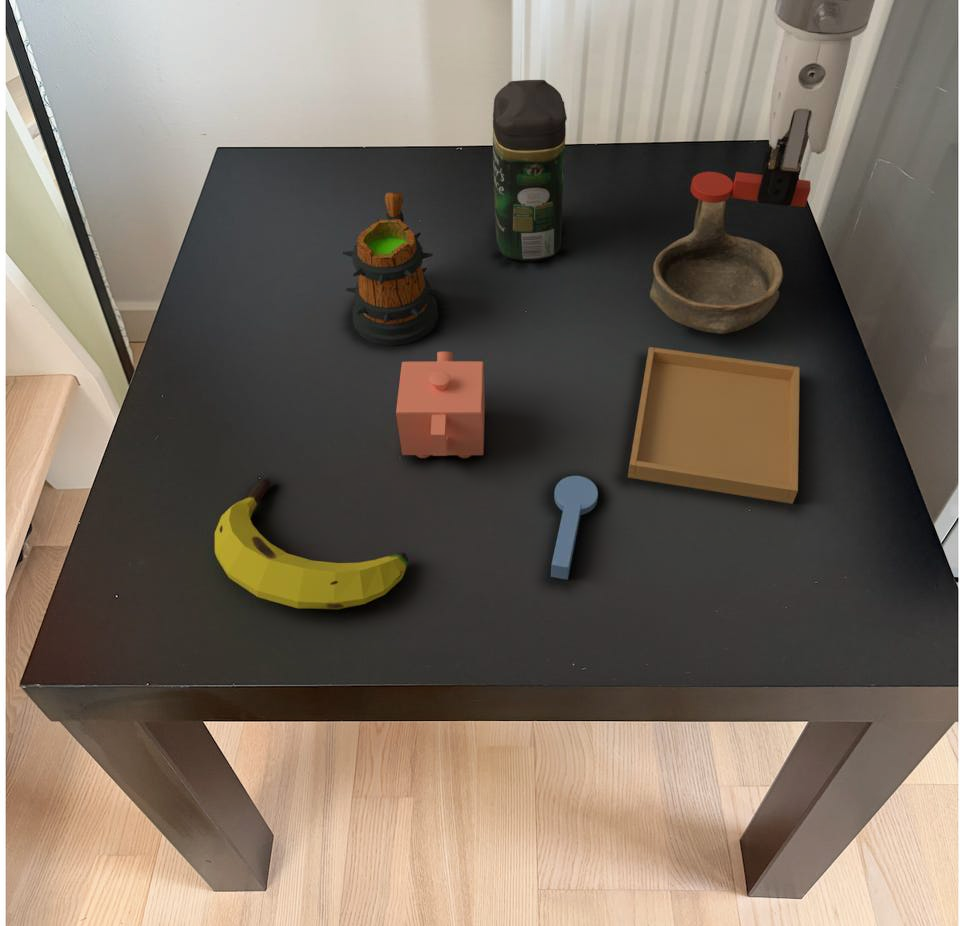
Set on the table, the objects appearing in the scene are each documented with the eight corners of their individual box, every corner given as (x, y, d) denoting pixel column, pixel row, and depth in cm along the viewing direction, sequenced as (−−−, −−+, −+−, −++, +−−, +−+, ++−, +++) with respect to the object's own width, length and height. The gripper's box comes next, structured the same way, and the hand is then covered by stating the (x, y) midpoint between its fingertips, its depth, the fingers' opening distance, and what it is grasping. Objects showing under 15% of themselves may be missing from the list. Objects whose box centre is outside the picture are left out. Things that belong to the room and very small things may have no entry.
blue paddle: (581, 582, 79) (583, 570, 77) (536, 574, 79) (537, 561, 78) (600, 485, 85) (601, 471, 84) (558, 478, 86) (559, 464, 85)
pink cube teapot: (485, 388, 94) (483, 328, 88) (483, 478, 86) (480, 420, 80) (410, 388, 94) (403, 328, 88) (401, 478, 87) (392, 420, 80)
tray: (794, 380, 93) (799, 367, 92) (792, 504, 83) (798, 490, 82) (646, 360, 96) (649, 346, 94) (627, 477, 86) (629, 464, 84)
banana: (403, 591, 74) (415, 468, 85) (189, 583, 73) (230, 461, 85) (403, 626, 77) (415, 503, 88) (198, 619, 76) (236, 496, 88)
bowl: (649, 353, 97) (661, 278, 89) (642, 250, 108) (652, 177, 100) (781, 356, 96) (804, 282, 88) (760, 253, 107) (779, 179, 99)
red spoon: (804, 191, 89) (810, 173, 87) (804, 215, 87) (810, 197, 85) (692, 177, 91) (695, 159, 89) (688, 200, 88) (692, 182, 87)
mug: (436, 348, 98) (429, 262, 89) (343, 346, 99) (326, 260, 90) (447, 272, 106) (441, 186, 97) (361, 270, 107) (347, 184, 98)
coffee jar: (492, 217, 113) (489, 73, 98) (556, 214, 113) (562, 69, 98) (496, 267, 106) (494, 120, 92) (564, 263, 106) (571, 117, 92)
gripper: (877, 51, 68) (813, 250, 83) (869, -36, 78) (813, 155, 92) (774, 43, 70) (729, 240, 84) (779, -42, 79) (738, 148, 93)
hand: (774, 194), depth 88 cm, fingers closed on red spoon, 1 cm apart
